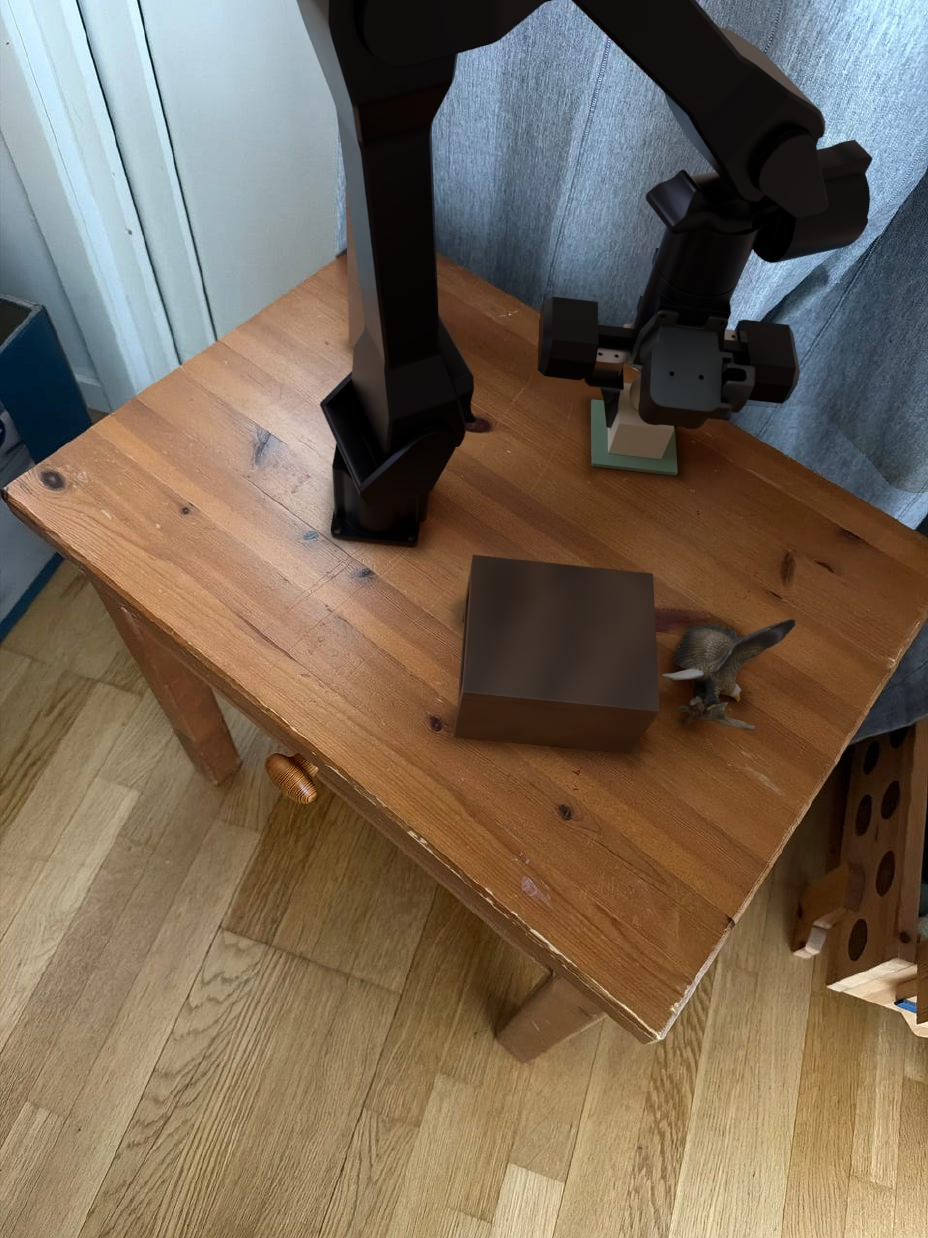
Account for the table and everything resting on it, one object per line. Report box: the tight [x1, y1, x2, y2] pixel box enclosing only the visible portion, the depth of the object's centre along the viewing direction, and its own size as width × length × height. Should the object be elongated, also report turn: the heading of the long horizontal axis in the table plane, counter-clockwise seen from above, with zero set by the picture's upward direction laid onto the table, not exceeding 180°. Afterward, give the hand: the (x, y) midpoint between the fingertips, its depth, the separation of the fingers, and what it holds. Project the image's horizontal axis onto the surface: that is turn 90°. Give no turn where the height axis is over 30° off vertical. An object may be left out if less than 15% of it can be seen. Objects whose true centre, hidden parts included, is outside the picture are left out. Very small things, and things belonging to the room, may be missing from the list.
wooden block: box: [344, 185, 365, 350], centre depth 71 cm, size 7×3×15 cm, turn 130°
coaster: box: [590, 399, 679, 477], centre depth 74 cm, size 7×7×1 cm
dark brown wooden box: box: [452, 554, 661, 754], centre depth 59 cm, size 12×10×7 cm
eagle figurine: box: [661, 617, 797, 731], centre depth 61 cm, size 8×7×9 cm
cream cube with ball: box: [608, 373, 674, 459], centre depth 71 cm, size 4×4×7 cm
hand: (636, 427), depth 73 cm, fingers closed on cream cube with ball, 4 cm apart
